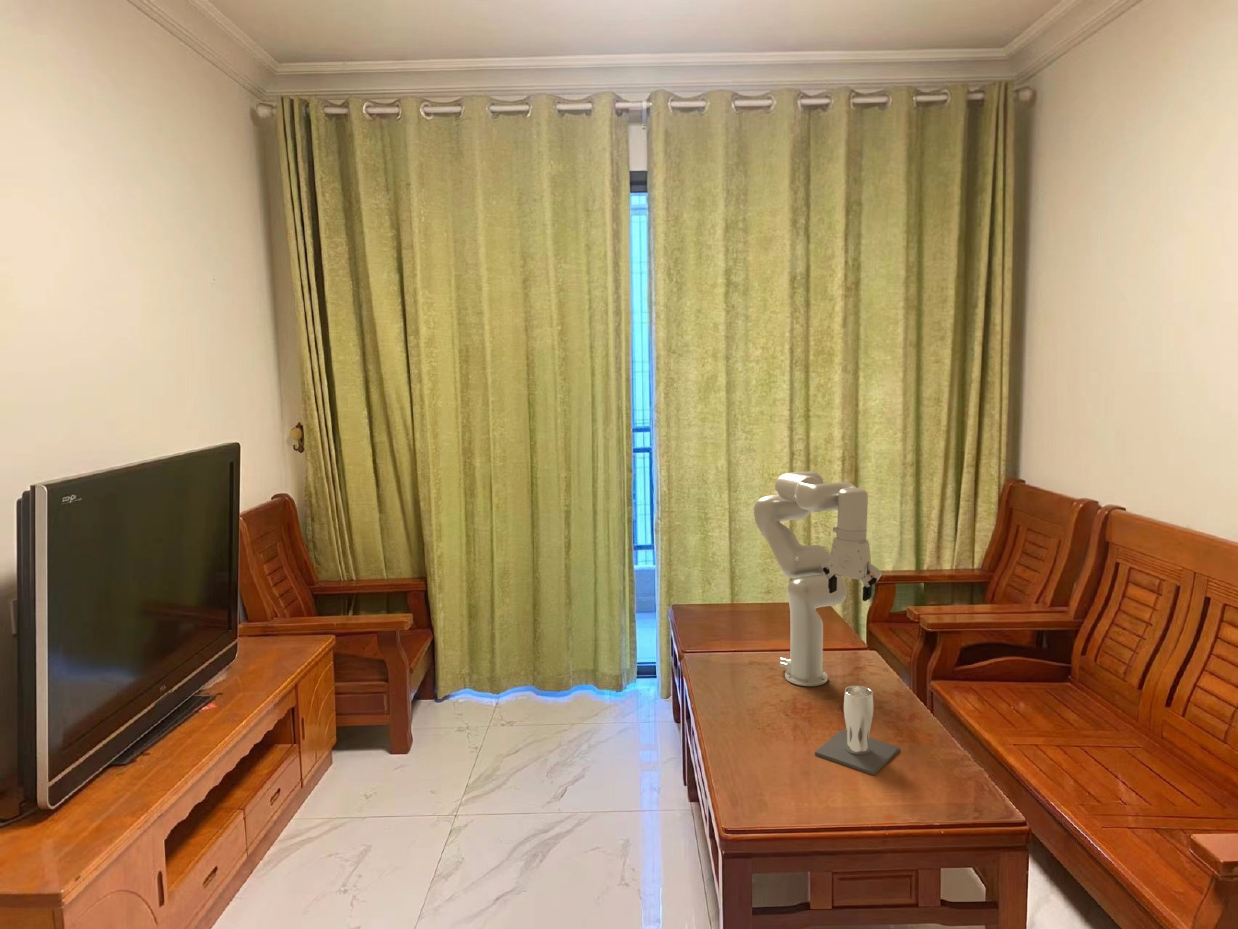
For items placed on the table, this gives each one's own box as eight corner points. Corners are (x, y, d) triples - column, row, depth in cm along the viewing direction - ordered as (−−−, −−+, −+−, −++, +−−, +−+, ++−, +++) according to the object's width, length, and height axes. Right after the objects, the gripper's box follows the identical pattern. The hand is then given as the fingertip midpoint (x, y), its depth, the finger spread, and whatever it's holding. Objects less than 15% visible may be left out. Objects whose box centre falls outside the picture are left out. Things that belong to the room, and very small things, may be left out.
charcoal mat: (815, 754, 190) (815, 751, 190) (842, 732, 202) (842, 729, 201) (874, 775, 181) (874, 772, 180) (899, 750, 192) (899, 747, 192)
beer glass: (853, 758, 187) (854, 699, 185) (837, 744, 193) (838, 687, 191) (878, 753, 189) (879, 695, 187) (861, 740, 195) (863, 683, 193)
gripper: (815, 531, 210) (813, 592, 213) (876, 542, 198) (873, 606, 201) (828, 526, 215) (826, 585, 218) (889, 537, 204) (886, 599, 207)
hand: (849, 595), depth 210 cm, fingers open, 9 cm apart
